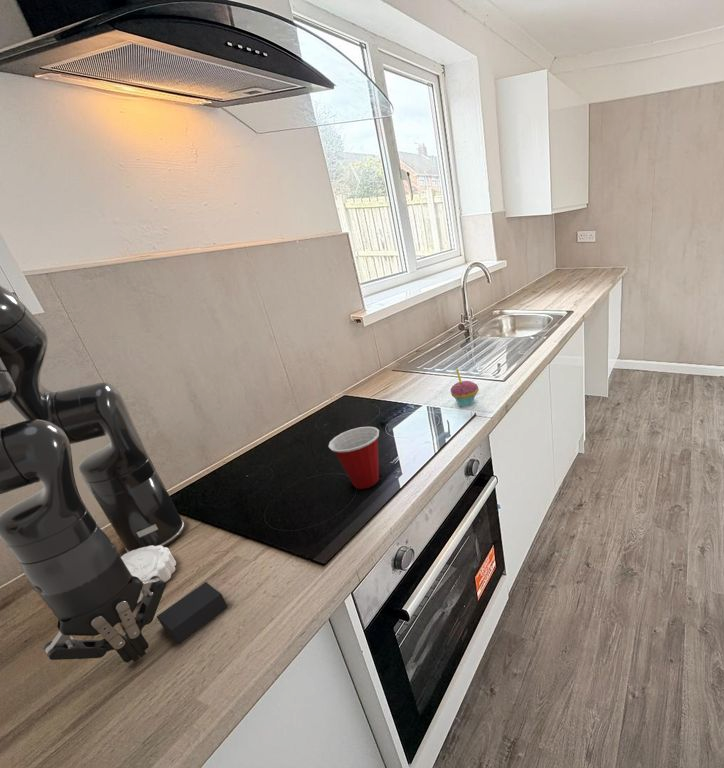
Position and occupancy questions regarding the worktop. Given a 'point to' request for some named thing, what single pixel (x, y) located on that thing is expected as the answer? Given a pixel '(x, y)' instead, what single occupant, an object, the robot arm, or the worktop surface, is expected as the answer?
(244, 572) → the worktop surface
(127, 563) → the mooncake
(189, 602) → the eraser
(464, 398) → the cupcake
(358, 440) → the plastic cup
